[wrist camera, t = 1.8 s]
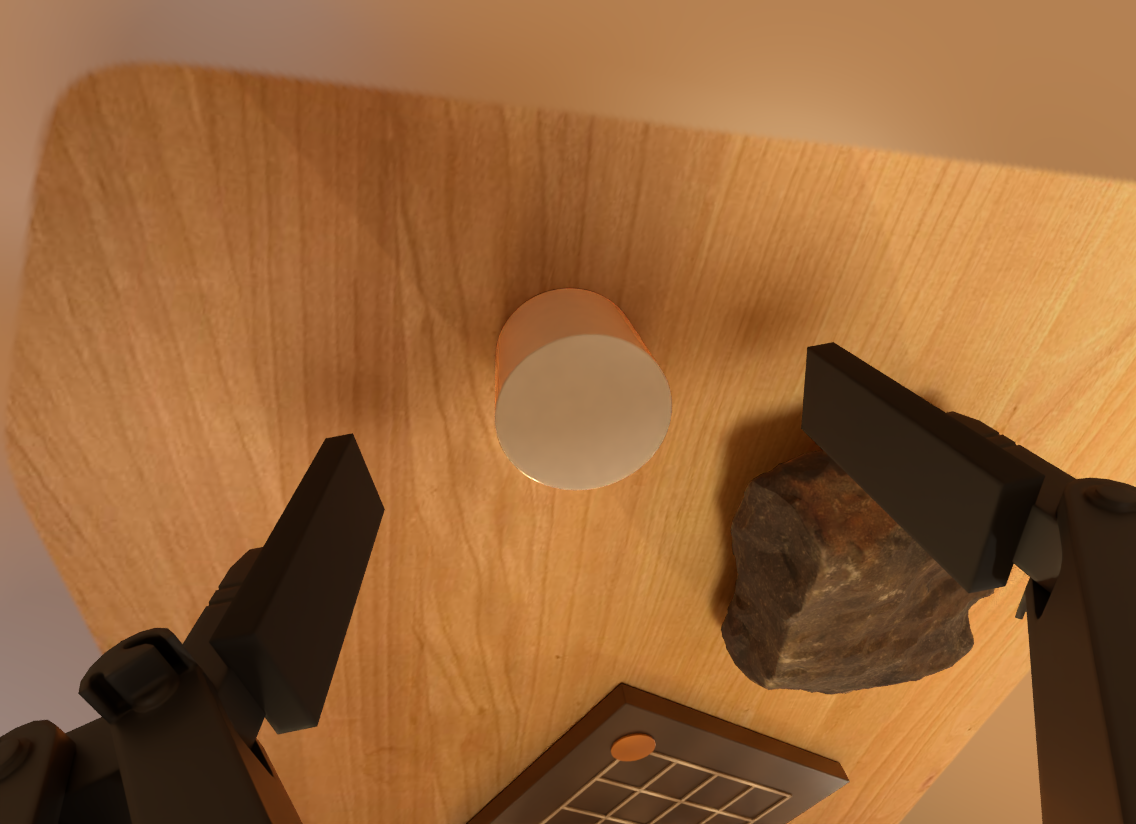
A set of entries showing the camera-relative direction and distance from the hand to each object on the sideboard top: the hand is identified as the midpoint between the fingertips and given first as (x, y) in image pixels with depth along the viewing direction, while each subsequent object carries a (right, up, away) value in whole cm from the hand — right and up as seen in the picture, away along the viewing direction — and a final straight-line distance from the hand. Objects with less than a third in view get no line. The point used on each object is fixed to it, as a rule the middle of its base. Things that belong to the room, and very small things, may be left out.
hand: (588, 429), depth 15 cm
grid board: (+4, -27, +21) cm, 34 cm away
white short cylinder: (-1, +2, +4) cm, 5 cm away
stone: (+11, -5, +10) cm, 16 cm away
